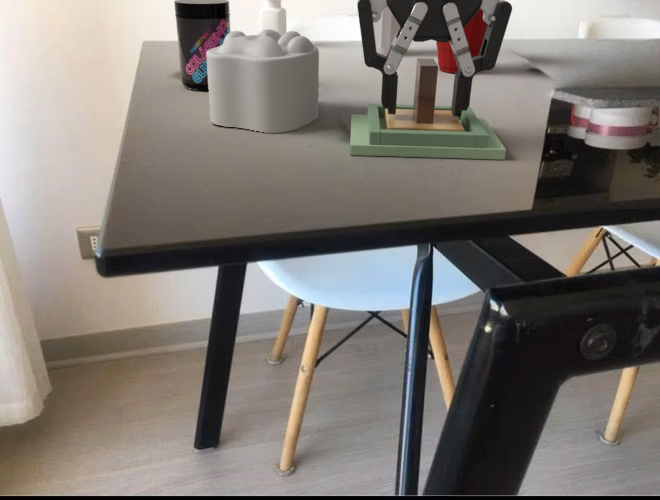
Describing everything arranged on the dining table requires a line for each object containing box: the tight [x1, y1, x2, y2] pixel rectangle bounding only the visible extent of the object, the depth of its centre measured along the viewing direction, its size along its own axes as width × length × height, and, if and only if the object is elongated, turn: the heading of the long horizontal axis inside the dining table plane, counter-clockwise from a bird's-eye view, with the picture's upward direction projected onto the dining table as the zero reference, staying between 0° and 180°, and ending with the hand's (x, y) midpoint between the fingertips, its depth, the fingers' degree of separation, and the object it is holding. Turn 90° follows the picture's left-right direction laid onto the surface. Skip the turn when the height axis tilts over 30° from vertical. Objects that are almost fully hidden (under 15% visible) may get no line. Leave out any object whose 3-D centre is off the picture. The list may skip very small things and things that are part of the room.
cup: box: [373, 7, 400, 56], centre depth 106 cm, size 8×8×12 cm
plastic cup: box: [435, 9, 488, 74], centre depth 93 cm, size 11×11×12 cm
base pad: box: [349, 103, 507, 161], centre depth 61 cm, size 14×11×2 cm
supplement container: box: [173, 0, 232, 90], centre depth 80 cm, size 7×7×10 cm
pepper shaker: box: [258, 0, 288, 36], centre depth 112 cm, size 4×4×10 cm
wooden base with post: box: [385, 57, 464, 132], centre depth 60 cm, size 7×7×6 cm
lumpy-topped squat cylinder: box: [206, 29, 320, 134], centre depth 68 cm, size 10×13×9 cm
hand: (424, 112), depth 61 cm, fingers open, 5 cm apart
